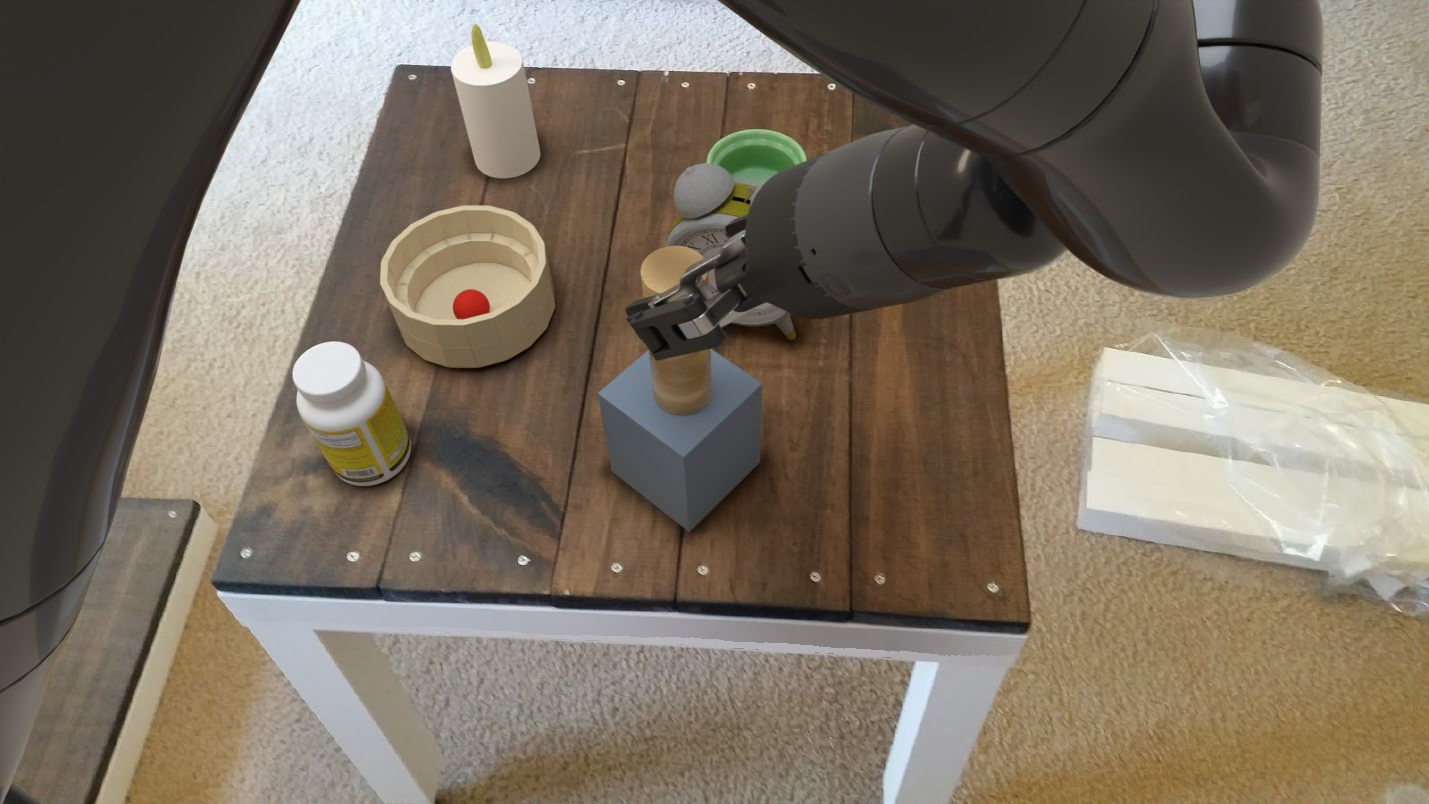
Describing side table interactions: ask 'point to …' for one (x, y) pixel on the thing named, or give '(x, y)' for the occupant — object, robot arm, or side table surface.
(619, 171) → the side table surface
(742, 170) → the ramekin
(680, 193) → the alarm clock
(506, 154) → the candle
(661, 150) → the side table surface
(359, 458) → the pill bottle
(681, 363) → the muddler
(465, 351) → the bowl
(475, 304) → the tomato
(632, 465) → the upright slate-blue block
